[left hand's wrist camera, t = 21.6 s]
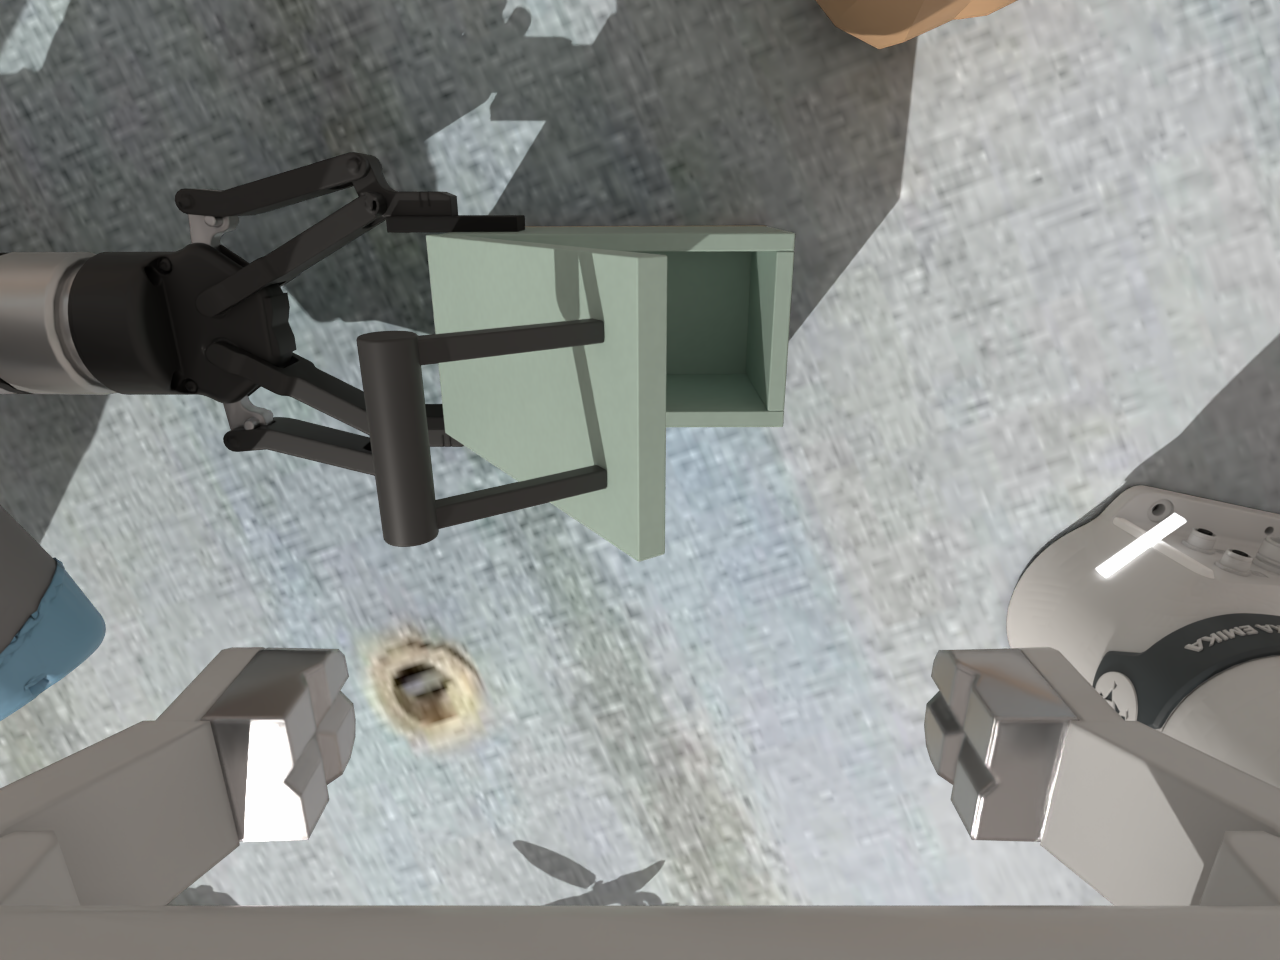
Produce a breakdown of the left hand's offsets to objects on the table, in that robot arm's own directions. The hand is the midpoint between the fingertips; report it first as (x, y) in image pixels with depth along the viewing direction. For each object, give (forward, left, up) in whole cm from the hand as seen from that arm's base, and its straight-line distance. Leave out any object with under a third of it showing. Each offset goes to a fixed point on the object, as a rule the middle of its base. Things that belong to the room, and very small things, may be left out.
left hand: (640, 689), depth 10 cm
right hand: (+6, 0, -32) cm, 33 cm away
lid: (+4, 0, -21) cm, 22 cm away
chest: (+1, 0, -38) cm, 39 cm away
